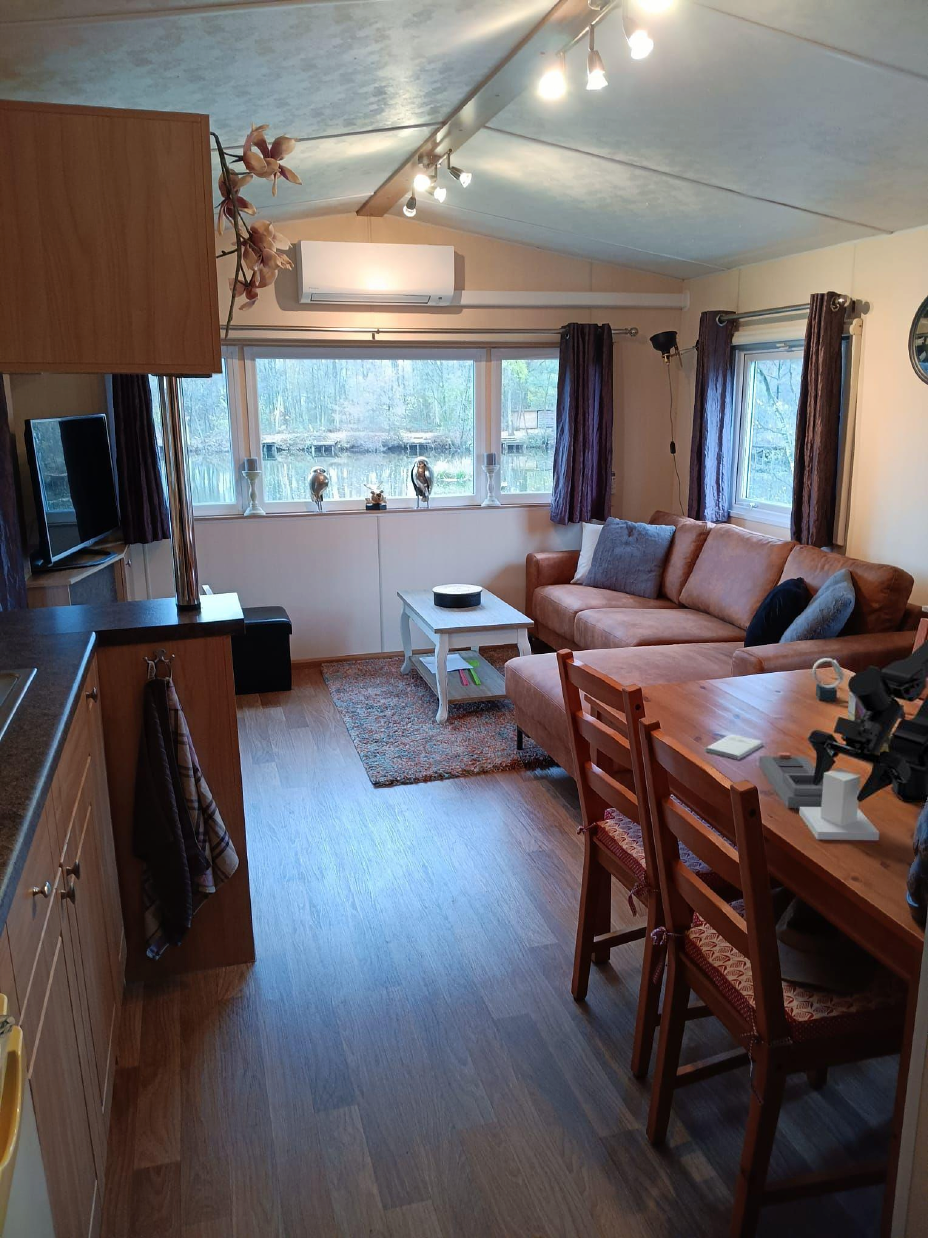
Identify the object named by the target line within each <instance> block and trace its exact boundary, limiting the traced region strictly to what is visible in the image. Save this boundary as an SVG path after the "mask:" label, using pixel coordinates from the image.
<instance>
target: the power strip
mask: <svg viewBox="0 0 928 1238" xmlns="http://www.w3.org/2000/svg"><path fill="white" fill-rule="evenodd" d="M776 755H777V756H776ZM776 755H775V756H773V755H771V756H770V755H769V756H766V755H760V756H759V759H758V768H759V770H760V771H761V772H762V773H763V775H764V776H765V778H766V779H767V781H768V782H769V783H770V785H771V787H772V788H773V789H774V791H775V793H776V794H777V796H778V797H779V798H780V799H781V801H782V803H783V804H784V805H785V807H786V808H787V809H788V808H789V809H790V808H795V809H796V808H797V809H799V810H800V807H821V804H822V791H823V780H822V781H821V782H820V783H819V784H818V785H817V786H816V785H814V784H813V779H814V773H815V767H816V766H814V764H813V763H812V762H811V761H810V760H809V758H807V756H792V755H791V753H790V752H779V751H778V752H777V754H776ZM823 779H824V778H823ZM790 810H791V809H790Z"/></svg>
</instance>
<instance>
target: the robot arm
mask: <svg viewBox="0 0 928 1238" xmlns="http://www.w3.org/2000/svg"><path fill="white" fill-rule="evenodd" d="M927 678H928V638H927V639H926V640H925V641H924V642H923V643H922V644H921V645H920V646H918V648H916V650H915V651H913V652H912V653H911V654H910V655H909V656H908V657H906V658H904V659H899V660H895V661H893V662H891V663H890V664H888V665H887V666H885V667H884V668H882V670H881V669H880V668H879V667H876V666H872V665H869V666H868V668H867V669H865V670H861V671H859V672H857V673H855V674H854V675H853V676H851V677H850V678H849V680H848V684H847V686H848V690H850V691H851V693H852V694H853V696H854V697H855V699H856V700H857V702H858V703H859V705H860V706H861V708H862V709H864V710H865V712H864V714H863V715H862V717H861V719H860V718H856V719H854V721H853V720H849V719H848V718H845V717H841V716H838V717H837V720H836V723H835V726H834V729H833V731H832V732H833V733H834V734H837V735H838V734H839V735H841V736H840V739H841V740H842V741H843V742H845V744H844V743H840V742H838V740H837V739H836V737H835V736H834V735H833V733H830V732H826V731H824V730H820V729H815V730H812V731H811V732H810V734H809V735H808V737H807V739H806V740H807V741H808V742H809V744H810V745H811V747H812V748H813V750H814V751H815V753H816V754H815V755H816V757H815V761H816V762H815V766H814V767H815V773H814V779H813V784H814V785H816V786H817V785H818V784H819V783H820V782H821V781H822V780H823V778H824V773H825V772H829V771H831V769H832V768H833V766H835V764H836V763H837V762H836V760H835V759H836V758H837V757H839V756H840V755H842V756H846V757H848V758H852V759H854V760H858V761H860V762H864V763H867V764H870V765H872V767H871V771H870V774H869V776H868V778H867V779H866V780H865V782H864V783H863V785H862V787H861V789H859V794H858V797H857V800H858V803H859V802H860V803H861V802H863V801H865V800H867V799H868V798H869V797H871V796H872V795H875V794H876V793H877V792H879V791H881V790H883V789H885V788H887V787H889V786H890V789H891V791H892V792H893V793H894V794H895V795H896V796H897V797H898V798H900V800H901V801H903V802H927V801H926V800H927V797H928V693H927V694H926V696H925V698H924V700H923V701H922V703H921V705H920V707H919V708H918V710H917V711H916V713H915V715H914V716H913V717H912V718H911V719H906V713H905V709H904V708H905V707H904V706H905V705H904V704H901V703H899V702H900V701H898V700H897V699H899V700H902V701H906V702H909V703H913V702H915V701H917V699H919V697H920V696H921V695H922V694H923V693H924V691H925V690H926V688H927ZM892 697H894V698H892ZM899 719H900V720H899ZM898 720H899V721H898ZM896 724H897V726H896ZM895 726H896V728H895V729H894V727H895ZM893 730H894V731H893ZM891 731H892V736H891V737H890V739H889V737H888V736H889V734H890V732H891ZM883 744H888V751H889V752H888V751H882V752H880V754H878V753H879V751H880V750H881V748H882V746H883ZM839 754H840V755H839Z"/></svg>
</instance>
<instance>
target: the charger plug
mask: <svg viewBox="0 0 928 1238" xmlns="http://www.w3.org/2000/svg"><path fill="white" fill-rule="evenodd" d="M860 786H861V775H859V774H856V773H854V772H851V771H849V770H846V769H844V768H836V769H833V770H829V772H825V773H824V779H823V791H822V804H821V817H820V818H822V819H825V820H827V821H829V822H831V823H834V824H836V825H838V826H840V827H841V826H843V825H846V824H849V823H852V822H855V821H857V810H858V809H859V807H858V806H859V801H858V800H857V797H858V794H859V792H860Z"/></svg>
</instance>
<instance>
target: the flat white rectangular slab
mask: <svg viewBox="0 0 928 1238" xmlns="http://www.w3.org/2000/svg"><path fill="white" fill-rule="evenodd" d="M798 812H799V815H800V818H801V819H802V820H803V822H804V823H805V824H806V826H807V825H808V826H807V828H808V829H809V830H810V831H811V833H812V834H813V836H814V837H815V839H816V840H835V841H836V840H838V841H839V840H841V841H845V840H846V841H848V840H849V841H879V840H880V832H879V831H878V829H877V827H875V826H874V825H873V823H872V822H871V821H870V820H869V818H867V817H866V815H864V813H863V812H862V811H861V810H860V808H858V810H857V821H855V822H852V823H849V824H846V825H843V826H841V827H840V826H838V825H836V824H834V823H831V822H829V821H827V820H825V819H822V818H820V817H821V807H800V809H799V811H798Z"/></svg>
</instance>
